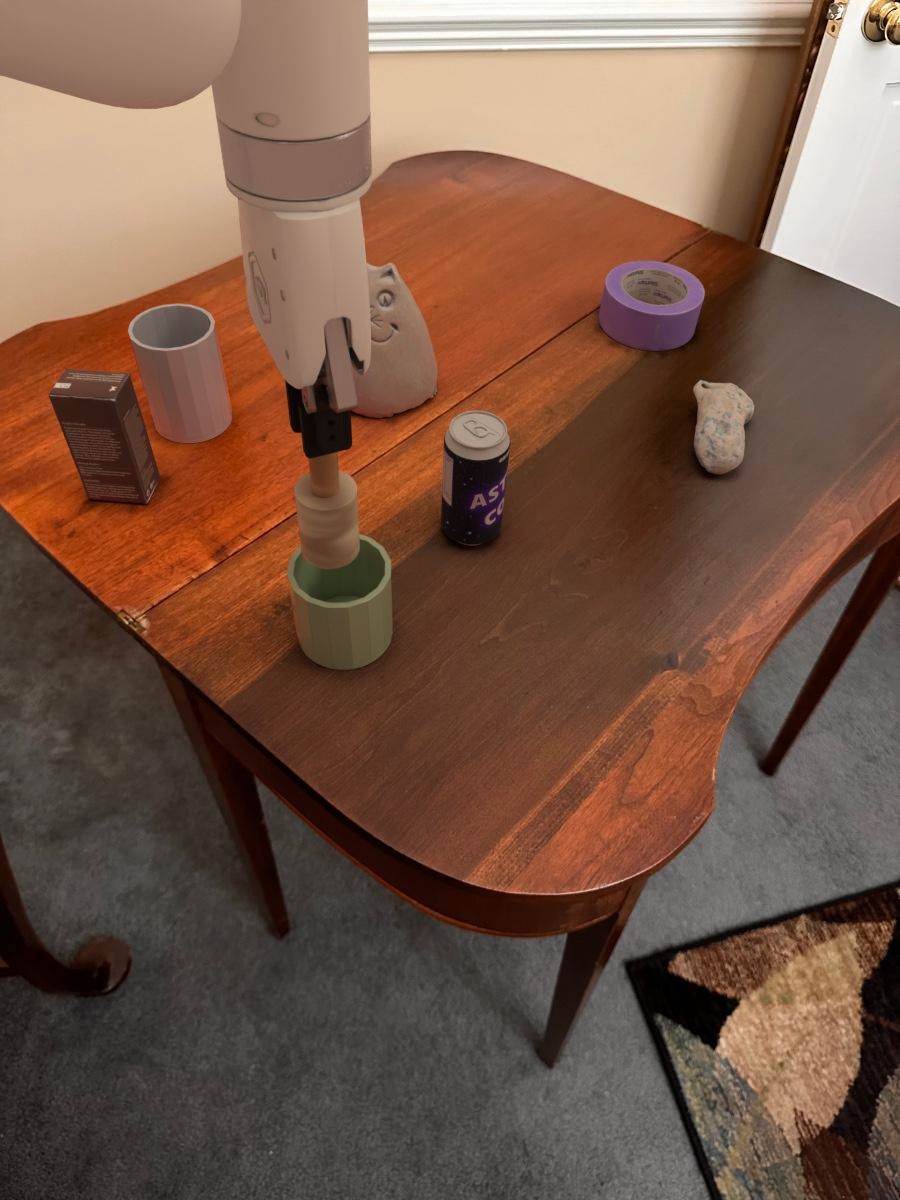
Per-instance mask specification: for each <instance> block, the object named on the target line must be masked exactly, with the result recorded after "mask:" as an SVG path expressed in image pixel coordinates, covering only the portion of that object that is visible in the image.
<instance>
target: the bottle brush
mask: <svg viewBox="0 0 900 1200" xmlns="http://www.w3.org/2000/svg"><path fill="white" fill-rule="evenodd" d="M327 383H328V378H327V377H322V378H317V379H316V381H315V388H316V387H317V386H318V385H323V384H327ZM301 391H302V389H301ZM302 401H303V394H302ZM303 403H304V402H303ZM338 453H339V452H336V453H331V454H327V455H323V456H319V457H315V458H307V459H308V469H309V471H308V472H307V473H305V474H303V475H302V476H301V477H300V478H299V479H298V480H297V481H296V482H295V485H294V489H293V490H294V491H293V493H294V499H295V500H294V502H295V509H296V517H297V526H298V527H297V528H298V534H299V535H298V536H299V542H300V546H301V551H302V555H303V557H304V558H305V560H306V561H307V562H309V563H310V564H311V565H313V566H316V567H319V568H323V569H336V568H340V567H343V566H346V565H348V564H349V563H351V562H352V561H353V560H354V559H355V558H356V557H357V555H358V553H359V550H360V541H359V534H360V524H359V523H360V519H359V501H358V486H357V483H356V481H355V479H354V478H353V477H352V476H351V475H349V474H348V473H347V472H345V471H343V470H340V469H339V468H340V467H339V454H338Z"/></svg>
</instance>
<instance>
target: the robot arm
mask: <svg viewBox="0 0 900 1200" xmlns="http://www.w3.org/2000/svg"><path fill="white" fill-rule="evenodd" d="M369 33H370V32H369V0H0V77H5V78H9V79H12V80H16V81H19V82H22V83H25V84H29V85H33V86H36V87H39V88H42V89H46V90H49V91H53V92H57V93H59V94H65V95H67V96H71V97H75V98H77V99H82V100H85V101H89V102H92V103H96V104H100V105H105V106H110V107H115V108H122V109H128V110H158V109H163V108H169V107H176V106H177V105H180V104H182V103H184V102H188V101H190V100H192V99H194V98H196V97H197V96H198V95H200V94H201V93H203V92H204V91H206V90H207V89H208V88H210V87H211V92H212V98H213V104H214V110H215V117H216V118H215V119H216V125H217V133H218V139H219V147H220V153H221V159H222V160H221V161H222V167H223V172H224V180H225V185H226V188H227V189H228V191H229V192H230V193H231V194H232V195H233V196H234V197H235V198H237V208H238V221H239V230H240V231H239V232H240V240H241V241H240V243H241V253H242V264H243V272H244V282H245V293H246V300H247V301H246V302H247V305H248V306H247V307H248V310H249V311H248V312H249V314H250V317H251V320H252V321H253V324H254V326H255V327H256V329H257V332H258V333H259V335H260V338H261V339H262V341H263V343H264V345H265V347H266V349H267V350H268V352H269V354H270V356H271V358H272V359H273V362H274V363H275V365H276V367H277V368H278V371H279V372H280V374H281V376H282V377H283V379H284V384H285V392H286V400H287V401H286V402H287V409H288V417H289V427H290V428H291V430H292V432H293V433H295V434H300V435H301V442H302V443H301V444H302V451H303V453H304V455H305V457H306V458H307V459H308V458H315V457H319V456H323V455H327V454H331V453H336V452H338V453H340V452H343V451H347V450H350V449H351V448H352V447H353V432H352V431H353V430H352V429H353V428H352V411H351V410H352V409H357V408H358V401H357V395H356V389H355V383H354V377H353V371H352V366H353V367H354V369H355V370H356V371H357V372H358V373H359V374H360V375H364V374H365V373H366V371H367V370H368V368H369V366H370V360H371V316H370V299H369V285H368V272H367V263H368V262H367V251H366V238H365V233H364V223H363V216H362V208H361V200H360V199H361V198H362V197H364V196H365V194H367V192H369V190H370V189H371V187H372V184H373V166H372V165H373V162H372V160H373V159H372V119H371V118H372V115H371V89H370V87H371V85H370V39H369V35H370V34H369ZM351 364H352V365H351ZM322 377H327V378H328V383H327V384H323V385H318V386H317V387H316V388H315V381H316V379H317V378H322ZM301 389H302V391H301ZM302 394H303V401H302ZM303 402H304V403H303Z"/></svg>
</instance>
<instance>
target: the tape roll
mask: <svg viewBox="0 0 900 1200" xmlns="http://www.w3.org/2000/svg"><path fill="white" fill-rule="evenodd" d="M705 295H706V293H705V288H704V285H703V284H702V282H701V281H700V280H699V278H698V277H696V276H695V275H694V274H692V273H691V272H689V271H688V270H686V269H684V268H682V267H679V266H676V265H674V264H671V263H666V262H662V261H655V260H636V261H635V260H634V261H628V262H625V263H621V264H618V265H617V266H615V267H614V268H612V269H611V270H610V271H609V272H608V274H607V275H606V277H605V281H604V285H603V291H602V296H601V302H600V306H599V313H598V323H599V326H600V327H601V329H602V331H603V332H605V334H607V336H608V337H610V338H611V339H612V340H614V341H616V342H617V343H619V344H622V345H623V346H626V347H629V348H633V349H637V350H641V351H647V352H648V351H649V352H663V351H670V350H674V349H678V348H680V347H682V346H684V345H686V344H687V343H688V342H689V341H691V339H692V338H693V337H694V335H695V332H696V327H697V324H698V321H699V317H700V313H701V309H702V306H703V303H704V299H705Z"/></svg>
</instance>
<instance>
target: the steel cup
mask: <svg viewBox="0 0 900 1200" xmlns="http://www.w3.org/2000/svg"><path fill="white" fill-rule="evenodd" d="M127 333H128V337H129V341H130V345H131V348H132V351H133V355H134V359H135V362H136V366H137V369H138V373H139V377H140V380H141V384H142V387H143V391H144V394H145V397H146V401H147V405H148V408H149V412H150V416H151V419H152V422H153V424H154V429H155V430H156V431H157V433H158V434H159V435H160V436H161V437H163V438H164V439H166V440H167V441H170V442H174V443H179V444H197V443H204V442H206V441H210V440H212V439H214V438H216V437H218V436H220V435H222V434H223V433H224V432H225V431H226V430H227V429H228V428H229V427H230V426H231V423H232V422H233V421H232V420H233V409H232V407H233V406H232V403H231V397H230V393H229V388H228V383H227V382H228V381H227V377H226V371H225V367H224V362H223V356H222V352H221V347H220V341H219V336H218V330H217V325H216V320H215V319H214V317H213V314H211V313H210V312H209V311H207V310H206V309H204V308H203V307H200V306H198V305H195V304H190V303H189V304H188V303H168V304H161V305H157V306H154V307H151V308H148V309H145V310H144V311H142V312H140V313H139V314H137V315H136V316H135V317H134V318H133V319H132V320H131V321H130V322H129V325H128V329H127Z"/></svg>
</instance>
